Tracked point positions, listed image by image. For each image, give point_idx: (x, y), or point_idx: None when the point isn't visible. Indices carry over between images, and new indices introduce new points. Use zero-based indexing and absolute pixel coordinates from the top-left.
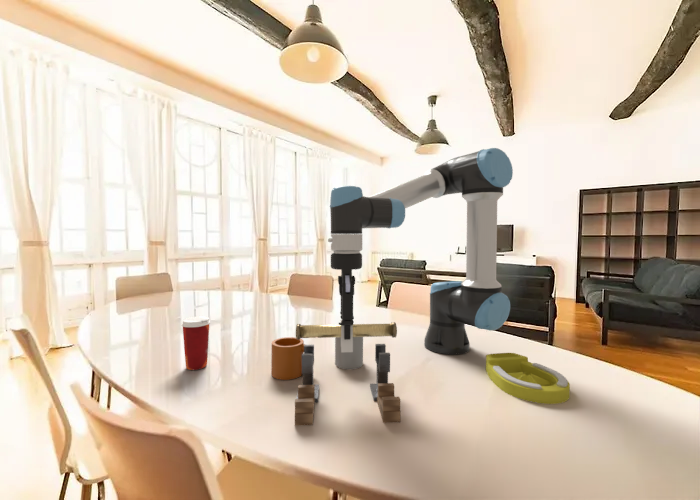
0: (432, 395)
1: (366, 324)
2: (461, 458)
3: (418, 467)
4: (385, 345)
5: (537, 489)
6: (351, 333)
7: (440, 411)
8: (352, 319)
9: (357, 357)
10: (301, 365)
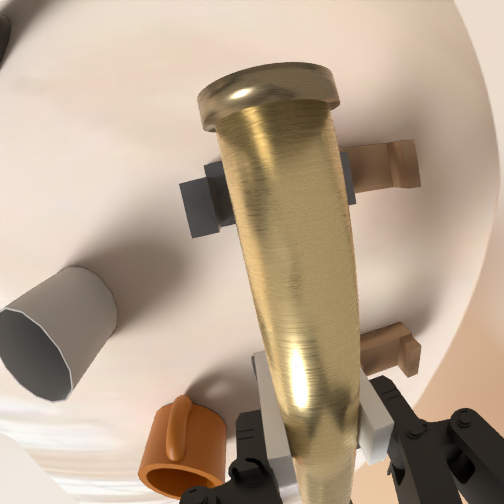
0: (238, 50)
1: (331, 356)
2: (444, 68)
3: (471, 137)
4: (206, 177)
5: (457, 16)
6: (371, 392)
7: (318, 46)
8: (486, 426)
9: (85, 291)
10: (189, 421)
